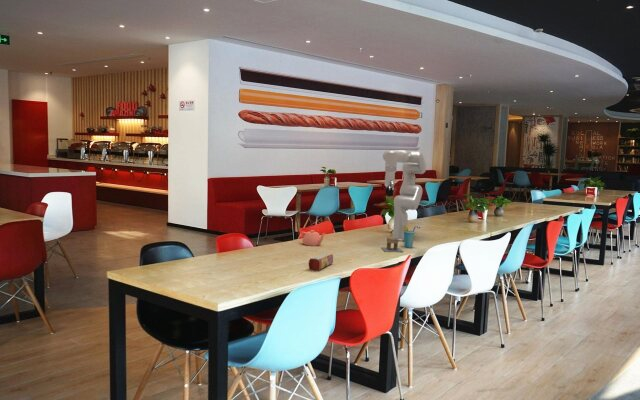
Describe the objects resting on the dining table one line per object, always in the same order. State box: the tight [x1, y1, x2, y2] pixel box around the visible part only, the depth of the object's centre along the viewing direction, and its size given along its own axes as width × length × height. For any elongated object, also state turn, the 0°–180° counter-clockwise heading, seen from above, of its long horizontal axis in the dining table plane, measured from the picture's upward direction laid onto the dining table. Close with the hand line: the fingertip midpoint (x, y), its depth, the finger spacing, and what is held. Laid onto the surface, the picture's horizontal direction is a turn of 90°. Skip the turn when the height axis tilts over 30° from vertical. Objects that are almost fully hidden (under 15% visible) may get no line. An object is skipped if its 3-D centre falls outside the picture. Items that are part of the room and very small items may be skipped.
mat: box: [380, 246, 404, 253], centre depth 360 cm, size 12×12×1 cm
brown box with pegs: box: [386, 237, 399, 250], centre depth 359 cm, size 6×6×7 cm
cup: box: [403, 225, 421, 249], centre depth 371 cm, size 14×8×15 cm, turn 50°
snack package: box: [308, 252, 334, 272], centre depth 301 cm, size 21×7×7 cm, turn 158°
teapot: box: [300, 229, 326, 247], centre depth 365 cm, size 12×18×10 cm
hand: (389, 195), depth 375 cm, fingers open, 9 cm apart
